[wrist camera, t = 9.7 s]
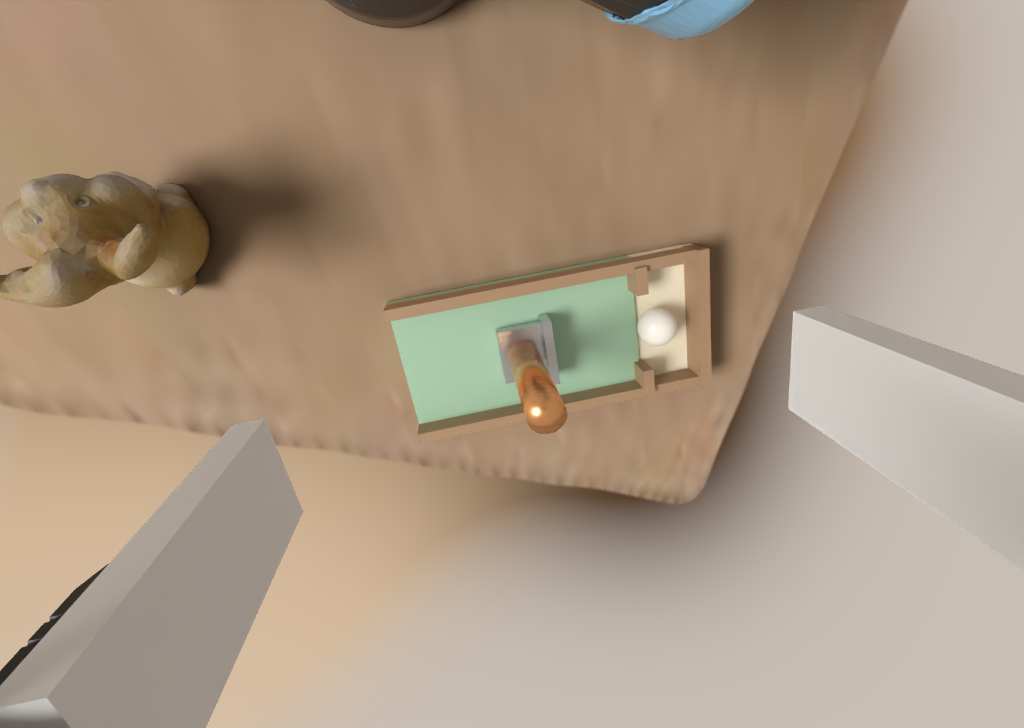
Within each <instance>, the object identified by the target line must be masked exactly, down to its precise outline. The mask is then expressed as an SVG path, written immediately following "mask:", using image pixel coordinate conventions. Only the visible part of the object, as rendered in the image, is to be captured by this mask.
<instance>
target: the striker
mask: <svg viewBox="0 0 1024 728" xmlns="http://www.w3.org/2000/svg"><path fill="white" fill-rule="evenodd" d="M495 331H496V336H497V341H498V346H499V351H500V356H501V361H502V367H503V372H504V377H505V381H506V384H509V383H514V382H515V384H516V387H517V390H518V394H519V397H520V400H521V404H522V407H523V411H524V414H525V417H526V421H527V423H528V425H529V427H530V428H531V429H532V430H533V431H535V432H537V433H540V434H550V433H553V432H556V431H557V430H559V429H560V428H561V427H562V426H563V425H564V423H565V421H566V419H567V409H566V407H565V405H564V402H563V400H562V398H561V396H560V394H559V392H558V390H557V388H556V386H555V385H557V384H560V377H559V371H558V364H557V357H556V350H555V343H554V336H553V330H552V323H551V320H550V318H549V317H548V315H547V314H542V315H538V321H534V322H529V323H524V324H519V325H514V326H509V327H504V328H499V329H495Z"/></svg>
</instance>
